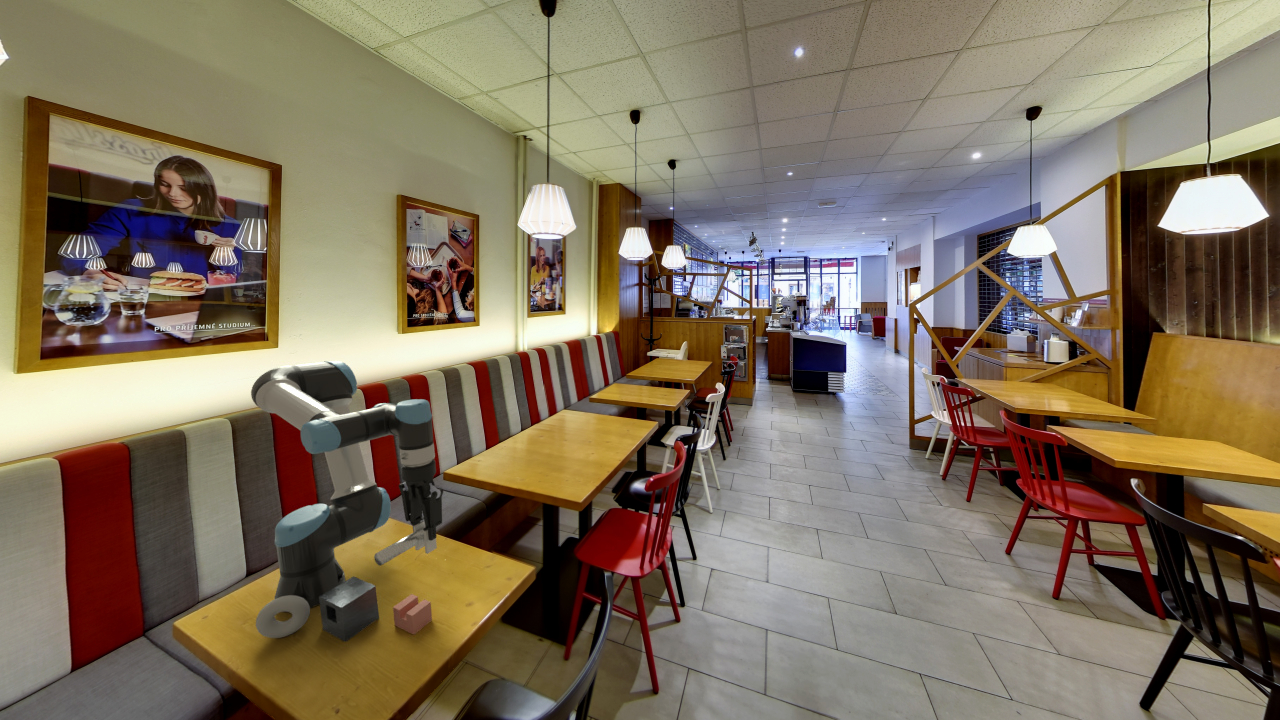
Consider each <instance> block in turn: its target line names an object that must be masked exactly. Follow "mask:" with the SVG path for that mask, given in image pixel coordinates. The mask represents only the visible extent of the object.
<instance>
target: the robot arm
mask: <svg viewBox="0 0 1280 720" xmlns="http://www.w3.org/2000/svg"><path fill="white" fill-rule="evenodd" d="M357 385H358V383H357V379H356V376H355V373H354V372H353V370H352V368H351V367H350V366H349V365H348V364H346V363H345V362H343V361H341V360H340V361H339V360H335V361H332V360H331V361H327V360H325V361H318V362H310V363H302V364H294V365H293V364H292V365H283V366H282V365H281V366H278V367H275V368H271V369H269V370H267V371H266V372H264V373H262V374H261V375H260V376H259V377H258V378H257V379H256V380H255V382H254V383H253V384H252V387H251V391H250V397H251V399H252V401H253V403H254V404H255V405H256V406H257V407H258V408H259V409H261V410H262V411H264V412H266V413H269V414H275V415H277V416H278V417H280V418H282V419H283V420H284V421H286V422H287V423H289V424H290V425H291V426H293V427H294V428H296V429H298V430H299V431H300V441H301V443H302V446H303V447H304V448H305V451H306V452H308V453H309V454H313V455H316V454H321V453H322V454H323V453H324V456H325V460H326V463H327V466H328V470H329V474H330V477H331V482H332V485H333V488H334V492H333V494H332V495H331V497H330V502H331V505H327V504H325V503H314V504H312V505H311V504H310V505H306V506H303V507H300V508H298V509H295V510H293V511H291V512H290V513H288V514H287V515H285V516H284V517H282V518H281V519H280V521H279V522H277V524H276V526H275V529H274V545H275V548H276V553H277V554H276V555H277V563H278V567H279V574H280V577H279V580H278V583H277V586H276V591H275V593H274V599H277V598H279V597H282V596H288V595H294V596H299V597H302V598H304V599H305V600H306V601H307V602H308V604H309V606H310V609H312V608H315V607H316V606H318V605H319V606H320V602H319V596H321V595H322V594H324V593H326V592H328V591H329V590H331V589H333V588H334V587H336V586H338V585H340V584H341V583H343V582H345V581H346V575H345V571H344V569H343V568H342V567H341V566H342V565H340V563H339V561H338V560H337V559H336V556H335V548H338V547H340V546H342V545H344V544H346V543H348V542H351V541H353V540H355V539H357V538H361V537H362V536H364V535H366V534H368V533H372V532H374V531H375V530H377V529H379V528H381V527H383V526H384V525H386V523H387V522H388V521H389V518H390V516H391V508H392V506H391V505H392V504H391V499H390V495H389V493H388V492H387V490H386V489H385V488H384V487H378V485H377V483H376V482H375V481H373V480H371V479H370V478H369V475H368V471H367V468H366V467H367V466H366V465H365V460H364V457H363V454H362V449H361V447H360V443H363V442H364V443H365V442H367V441H368V442H369V441H373V440H375V439H379V438H382V437H387V436H395V437H397V439H398V448H399V457H400V464H401V466H400V468H401V469H400V471H401V478H402V481H404V482H403V483H399V484H398V489H399V491H400V493H401V499H402V500H401V501H402V508H403V512H404V518H405V519H404V520H405V521H406V522H410V525H412V533H414V532H415V531H417V530H419V529H421V528H423V527H424V526H425V528H423V532H424V541H422V542H420V543H419V544H417V545H415V546H414V547H415V551H419V550H420V549H422V548H424V551H425V554H430V553H432V551H434V550H435V549H438V548H437V545H438V544H437V537H438V536H437V527H438V526H441V524H443V502H442V500H443V494H444V489H443V488H439V489H438V488H437V487H436V485H435V482H434V481H435V480H434V476H435V475H436V473H437V467H436V460H435V459H436V458H435V457H436V453H435V444H434V434H433V433H434V431H433V415H432V414H433V413H432V411H431V410H432V409H431V405H430V402H429V401H428V400H426V399H422V398H420V399H417V398H416V399H407V400H402V401H399V402H398V403H392V402H391V403H390V402H387V403H386V402H383V403H377V404H375V405H374V406H373V407H371V408H369V409H365V410H358V411H354V412H353V411H352V412H351V411H350V404H351V403H352V401H353V396H354V395H355V394H356V393H357V390H358V386H357ZM283 613H288V612H287V611H284V612H283Z"/></svg>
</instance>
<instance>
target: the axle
mask: <svg viewBox="0 0 1280 720" xmlns="http://www.w3.org/2000/svg"><path fill="white" fill-rule="evenodd" d="M423 528H425V526H424V527H423ZM423 528H421V529H419V530H417V531H415V532H414V533H413V532H412V533H409V534H408V535H406V536H404V537H403V538H401V539H400V540H398V541H396V542H394V543H392V544H390V545H389V546H387V547H385V548H383V549H381V550H379V551H377V552H376V553H375V554H374V556H373V557H374V559H373V560H374V561H375V563H376V564H377V565H378V566H383V565H384V564H386V563H388V562H389V561H391V560H393V559H395V558H397V557H398V556H400V555H401V554H403V553H405V552H406V551H408V550H410V549H412V548H413V547H415V545H417V544H419V543H420V542H422V541H424V532H423Z"/></svg>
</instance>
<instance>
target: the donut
mask: <svg viewBox="0 0 1280 720" xmlns="http://www.w3.org/2000/svg"><path fill="white" fill-rule="evenodd" d="M284 611H287V612H286V613H290V614H291V617H290V618H289V619H288V620H285V621H284V620H283V621H281V620H277V619H276V616H277V614H280V613H285V612H284ZM310 611H311V608H310V606H309V604H308V602H307V601H306V600H305V599H304V598H302V597H299V596H294V595H288V596H282V597H279V598H277V599H275V598H274V599H272V600H271V601H270V602H268V603H266V604H265V605H264V606H263V607H262V608H261V610H260V611H259V612H258V614H257V616H256V619H255V627H256V630H257V632H258V633H259V634H260V635H261V636H263V637H265V638H268V639H280V638H284V637H288V636H290V635H292V634H294V633H295V632H297V631H298V630H300V629H301V628H302V627H303V626H304V625H305V624H306V623H307V621H308V618H309V617H310V613H311V612H310Z"/></svg>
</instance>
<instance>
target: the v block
mask: <svg viewBox="0 0 1280 720" xmlns="http://www.w3.org/2000/svg"><path fill="white" fill-rule="evenodd" d="M392 611H393V621H394V622H393V623H394V626H395V627H397V628H399V629H401V630H404V631H406V632H407V633H409V634H412V635H416V634H417V633H418V632H419V631H421V629H423V628H424V627H425V626H426V625H428V624H429V623H430V622H431V621H433V616H432V615H433V614H432V602H431V601H429V600H427V599H423V600H421V601H420V602H419V596H417V595H415V594H412V593H411V594H409V595H408V596H407V597H405V598H404V599H403V600H401V601H400V602H398V603H397V604H395V605H394V606H393V607H392Z"/></svg>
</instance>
